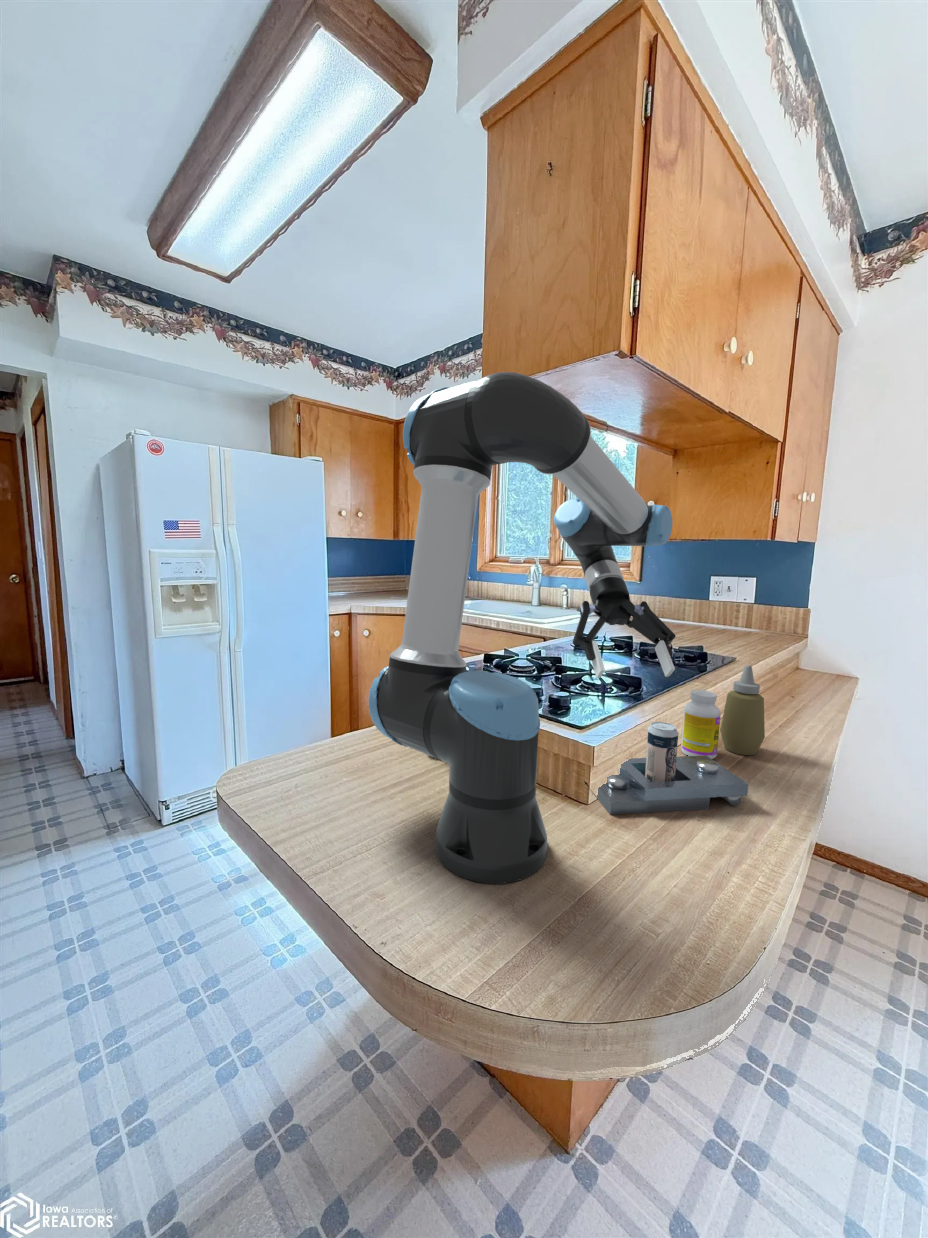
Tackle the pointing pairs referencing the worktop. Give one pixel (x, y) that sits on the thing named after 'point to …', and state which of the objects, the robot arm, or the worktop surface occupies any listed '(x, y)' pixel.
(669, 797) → the right chain end
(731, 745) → the squeeze bottle
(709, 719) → the supplement bottle
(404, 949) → the worktop surface
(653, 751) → the beer can
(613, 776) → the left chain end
